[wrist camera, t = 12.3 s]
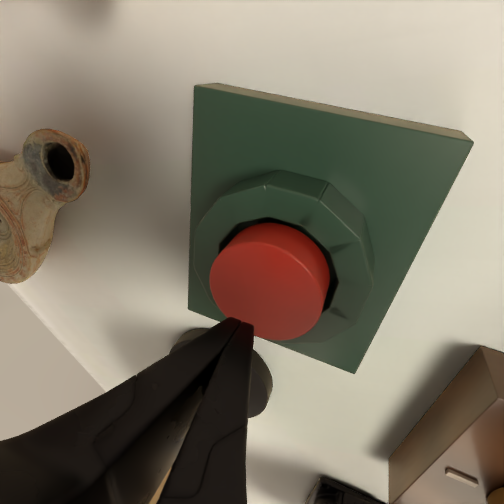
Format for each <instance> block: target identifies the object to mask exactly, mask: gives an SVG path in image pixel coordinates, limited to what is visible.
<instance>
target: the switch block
mask: <svg viewBox="0 0 504 504" xmlns="http://www.w3.org/2000/svg"><path fill="white" fill-rule="evenodd" d="M473 144H474V142H473V141H472V140H471V139H470V138H469V137H467V136H466V135H465V134H464V133H463V132H462V131H458V130H453V129H448V128H442V127H437V126H432V125H427V124H422V123H417V122H412V121H407V120H402V119H397V118H392V117H387V116H382V115H377V114H371V113H366V112H361V111H356V110H351V109H346V108H341V107H336V106H331V105H326V104H321V103H316V102H311V101H306V100H300V99H295V98H290V97H285V96H280V95H275V94H270V93H265V92H260V91H255V90H250V89H245V88H240V87H235V86H229V85H224V84H219V83H213V84H202V85H195V86H194V106H193V141H192V177H191V213H190V249H189V284H188V309H189V310H191V311H193V312H196V313H199V314H201V315H204V316H206V317H209V318H211V319H214V320H217V321H219V322H222V321H223V320H225V319H226V318H227V317H226V316H225V315H224V314H223V313H222V311H221V310H220V309H219V307H218V306H217V304H216V302H215V300H214V298H213V295H212V292H211V289H210V270H211V267H212V264H213V262H214V260H215V259H216V257H217V256H218V255H219V254H220V253H221V251H222V250H223V249H224V248H225V247H226V246H227V245H228V244H229V243H230V241H231V240H232V239H233V238H234V237H235V236H236V235H237V234H238V233H239V232H240V231H242V230H243V229H245V228H247V227H249V226H252V225H255V224H261V223H277V224H282V225H286V226H289V227H292V228H294V229H296V230H298V231H300V232H302V233H303V234H305V235H306V236H307V237H309V238H310V239H311V240H312V241H313V242H314V243H315V244H316V245H317V246H318V248H319V249H320V250H321V252H322V253H323V255H324V257H325V259H326V261H327V264H328V268H329V273H330V282H329V287H328V291H327V294H326V298H325V302H324V306H323V309H322V313H321V316H320V318H319V320H318V322H317V323H316V325H315V326H314V327H313V328H312V329H311V330H310V331H308V332H307V333H306V334H304V335H302V336H300V337H297V338H294V339H289V340H269V339H265V340H268V341H270V342H273V343H276V344H278V345H281V346H283V347H286V348H288V349H291V350H294V351H296V352H299V353H301V354H304V355H306V356H309V357H311V358H314V359H317V360H319V361H322V362H324V363H327V364H329V365H332V366H335V367H337V368H340V369H342V370H345V371H347V372H350V373H353V374H355V373H356V371H357V369H358V367H359V365H360V363H361V361H362V359H363V357H364V355H365V353H366V351H367V349H368V347H369V346H370V344H371V342H372V340H373V338H374V336H375V334H376V332H377V330H378V328H379V326H380V324H381V322H382V320H383V318H384V317H385V315H386V313H387V311H388V309H389V307H390V305H391V303H392V301H393V299H394V297H395V295H396V293H397V291H398V289H399V287H400V286H401V284H402V282H403V280H404V278H405V276H406V274H407V272H408V270H409V268H410V266H411V264H412V262H413V260H414V258H415V257H416V255H417V253H418V251H419V249H420V247H421V245H422V243H423V241H424V239H425V237H426V235H427V233H428V231H429V229H430V227H431V226H432V224H433V222H434V220H435V218H436V216H437V214H438V212H439V210H440V208H441V206H442V204H443V202H444V200H445V198H446V197H447V195H448V193H449V191H450V189H451V187H452V185H453V183H454V181H455V179H456V177H457V175H458V173H459V171H460V169H461V167H462V166H463V164H464V162H465V160H466V158H467V156H468V154H469V152H470V150H471V148H472V146H473ZM263 339H264V338H263Z"/></svg>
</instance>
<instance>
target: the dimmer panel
mask: <svg viewBox="0 0 504 504" xmlns="http://www.w3.org/2000/svg"><path fill="white" fill-rule="evenodd" d="M501 487H504V353H501V352H498V351H495V350H492V349H489V348H486V347H483V346H480V347H479V348H478V350H477V351H476V352H475V353H474V355H473V356H472V357H471V358H470V360H469V361H468V362H467V363H466V364H465V366H464V367H463V368H462V369H461V371H460V372H459V373H458V374H457V376H456V377H455V378H454V379H453V380H452V382H451V383H450V384H449V385H448V387H447V388H446V389H445V390H444V391H443V393H442V394H441V395H440V396H439V398H438V399H437V400H436V401H435V403H434V404H433V405H432V406H431V407H430V409H429V410H428V411H427V412H426V414H425V415H424V416H423V417H422V418H421V420H420V421H419V422H418V423H417V425H416V426H415V427H414V428H413V430H412V431H411V432H410V433H409V434H408V436H407V437H406V438H405V439H404V441H403V442H402V443H401V444H400V445H399V447H398V448H397V449H396V450H395V452H394V453H393V454H392V455H391V457H390V458H389V504H487V498H488V496H489V495H490V493H492V492H493V491H494V490H496V489H499V488H501Z"/></svg>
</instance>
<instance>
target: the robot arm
mask: <svg viewBox="0 0 504 504" xmlns="http://www.w3.org/2000/svg"><path fill="white" fill-rule="evenodd" d="M253 340H254V325H252V324H249V323H247V322H242V321H241V320H239V319H236V318H234V317H228V318H226V319H225V320H223V321H222V322H220V323H218V324H217V325H215V326H214V327H212V328H210V329H209V330H207V331H205V332H204V333H202V334H201V335H199V336H197V337H196V338H194V339H193V340H191V341H189V342H188V343H186V344H184V345H183V346H181V347H180V348H178V349H176V350H175V351H173V352H172V353H170V354H168V355H167V356H165V357H164V358H162V359H160V360H159V361H157V362H155V363H154V364H152V365H151V366H149V367H147V368H146V369H144V370H143V371H141V372H139V373H138V374H137V376H136V375H134V376H133V377H131V378H129V379H128V380H126V381H125V382H123V383H121V384H120V385H118V386H116V387H114V388H113V389H111V390H109V391H108V392H106V393H104V394H102V395H100V396H99V397H97V398H95V399H93V400H91V401H89V402H87V403H85V404H83V405H81V406H79V407H77V408H75V409H73V410H71V411H69V412H67V413H65V414H63V415H61V416H59V417H57V418H55V419H53V420H51V421H49V422H47V423H45V424H43V425H41V426H39V427H37V428H35V429H33V430H31V431H29V432H26V433H24V434H21V435H19V436H16V437H13V438H10V439H6V440H3V441H0V504H149V503H150V501H151V499H152V498H153V496H154V494H155V493H156V491H157V489H158V488H159V486H160V484H161V483H162V481H163V479H164V478H165V476H166V474H167V473H168V471H169V469H170V468H171V466H172V464H173V463H174V464H173V466H172V468H171V471H170V473H169V475H168V477H167V480H166V482H165V484H164V487H163V489H162V491H161V494H160V496H159V499H158V501H157V503H156V504H247V493H246V440H247V425H248V410H249V396H250V382H251V368H252V354H253ZM305 504H380V503H378V502H376V501H374V500H372V499H370V498H368V497H366V496H364V495H361V494H359V493H357V492H355V491H353V490H351V489H349V488H347V487H345V486H343V485H340V484H338V483H336V482H334V481H332V480H330V479H328V478H325V477H320V478H319V480H318V482H317V484H316V485H315V487H314V489H313V490H312V492H311V494H310V495H309V497H308V499H307V500H306V502H305Z"/></svg>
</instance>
